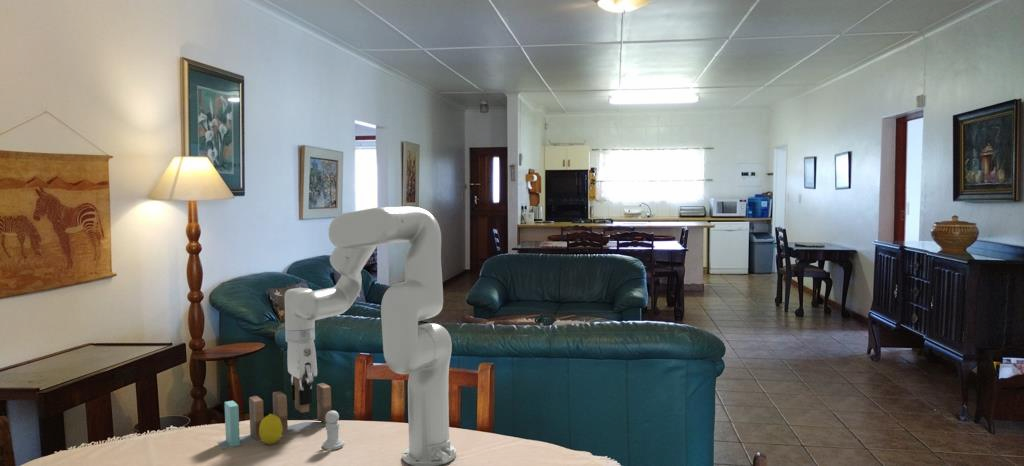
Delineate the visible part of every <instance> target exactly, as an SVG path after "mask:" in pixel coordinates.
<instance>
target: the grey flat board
mask: <svg viewBox="0 0 1024 466" xmlns="http://www.w3.org/2000/svg"><path fill="white" fill-rule="evenodd" d="M311 421H319V420H318V418H317V419H313V420H311ZM323 426H325V427H326V424H323V423H322V422H307V421H304V422H300V423H295V424H294V423H293V424H290V425H288V433H287V434H283V435H281V437H282V436H286V435H291V434H294V433H298V432H303V431H308V430H311V429H316V428H319V427H323ZM260 441H262V440H257V441H256V440H255V439H254V438H253V437H252V436H251V435H250V434H248V435H242V436H240V445H236V446H232V447H231V446H230V445H229V444H228V442H227V441H226V439H225V440H220V441H217V442H216V443H217V445H219V446H220V448H222V450H226V449H227V450H228V449H230V448H235V447H239V446H243V445H247V444H253V443H256V442H260Z"/></svg>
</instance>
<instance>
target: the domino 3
mask: <svg viewBox="0 0 1024 466" xmlns="http://www.w3.org/2000/svg"><path fill="white" fill-rule="evenodd" d="M302 377H303V378H307V377H306V376H302ZM304 382H306V380H303V384H304ZM294 386H295V400H294V408H295V410H297V411H298V412H299V413H307V412H310V404H306V405H300V404H299V390H300V382H299V379H298V378H296V377H294Z"/></svg>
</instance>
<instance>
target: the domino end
mask: <svg viewBox="0 0 1024 466" xmlns="http://www.w3.org/2000/svg"><path fill="white" fill-rule="evenodd" d="M239 411H240V410H239V404H237V403H236V401H234V400H228V401H224V423H225V425H224V427H225V440H226V441H227V442H228V444H229V445H230V446H231V447H232V446H236V445H240V437H241V436H240V417H239V415H240V413H239ZM240 446H241V445H240ZM236 447H237V446H236ZM232 448H233V447H232Z"/></svg>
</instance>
